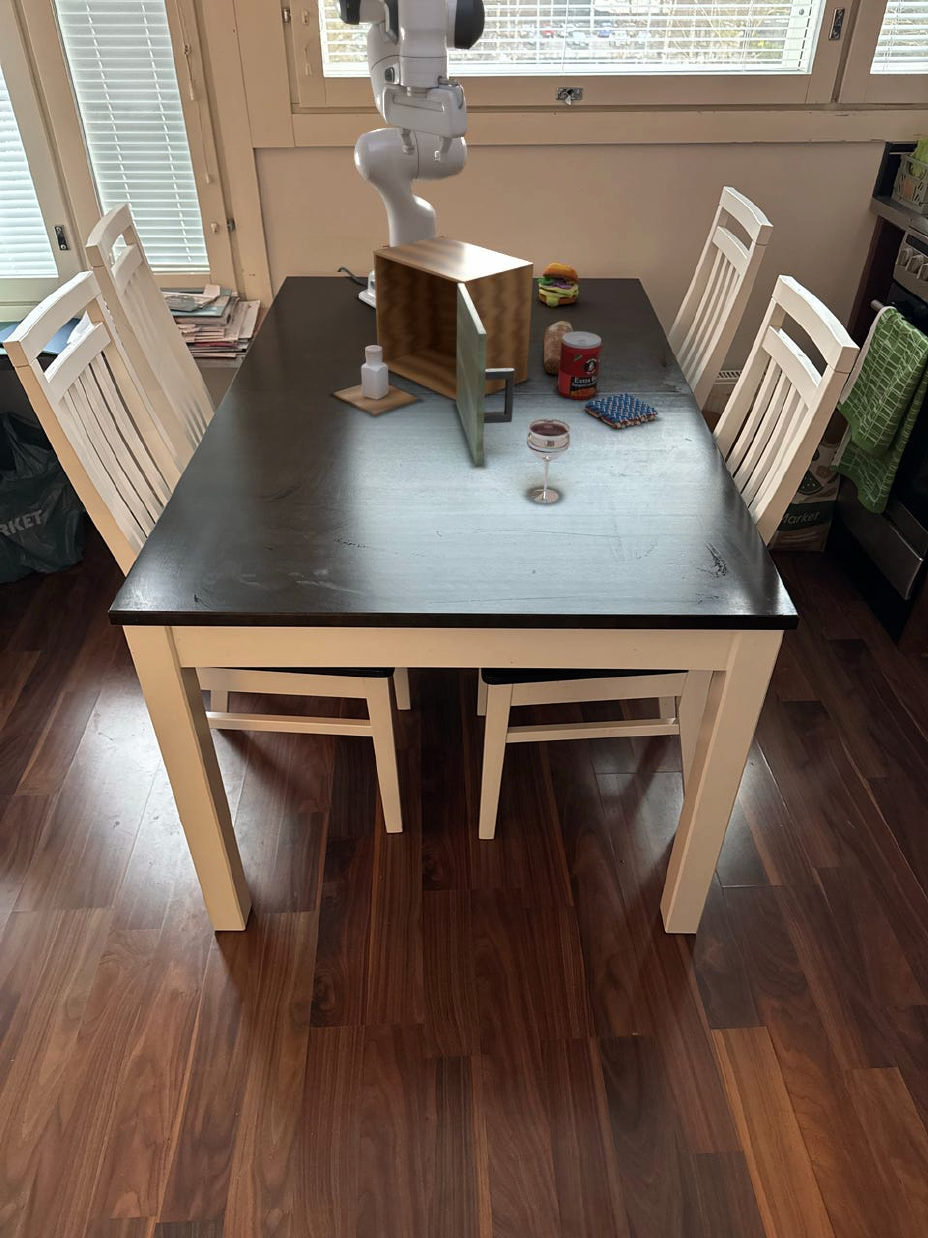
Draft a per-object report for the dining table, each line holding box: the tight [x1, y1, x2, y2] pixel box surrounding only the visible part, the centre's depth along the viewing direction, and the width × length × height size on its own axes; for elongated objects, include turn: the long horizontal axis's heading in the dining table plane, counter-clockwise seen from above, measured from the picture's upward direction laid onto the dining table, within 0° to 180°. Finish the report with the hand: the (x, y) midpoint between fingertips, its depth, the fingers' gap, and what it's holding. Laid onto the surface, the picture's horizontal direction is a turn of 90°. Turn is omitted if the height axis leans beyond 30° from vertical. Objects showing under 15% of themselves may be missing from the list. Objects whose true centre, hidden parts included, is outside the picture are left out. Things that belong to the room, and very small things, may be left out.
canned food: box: [557, 330, 602, 401], centre depth 180 cm, size 8×8×11 cm
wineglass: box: [526, 418, 572, 504], centre depth 146 cm, size 7×7×12 cm
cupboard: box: [372, 235, 534, 401], centre depth 184 cm, size 18×26×23 cm
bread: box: [543, 320, 575, 375], centre depth 196 cm, size 6×19×6 cm, turn 169°
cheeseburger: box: [537, 262, 581, 308], centre depth 228 cm, size 10×11×10 cm
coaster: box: [333, 383, 420, 417], centre depth 180 cm, size 13×11×1 cm
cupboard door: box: [455, 283, 515, 467], centre depth 161 cm, size 6×26×23 cm, turn 8°
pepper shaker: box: [360, 344, 390, 400], centre depth 177 cm, size 4×4×10 cm
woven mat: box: [584, 392, 659, 429], centre depth 174 cm, size 10×11×2 cm
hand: (424, 157), depth 175 cm, fingers open, 8 cm apart
